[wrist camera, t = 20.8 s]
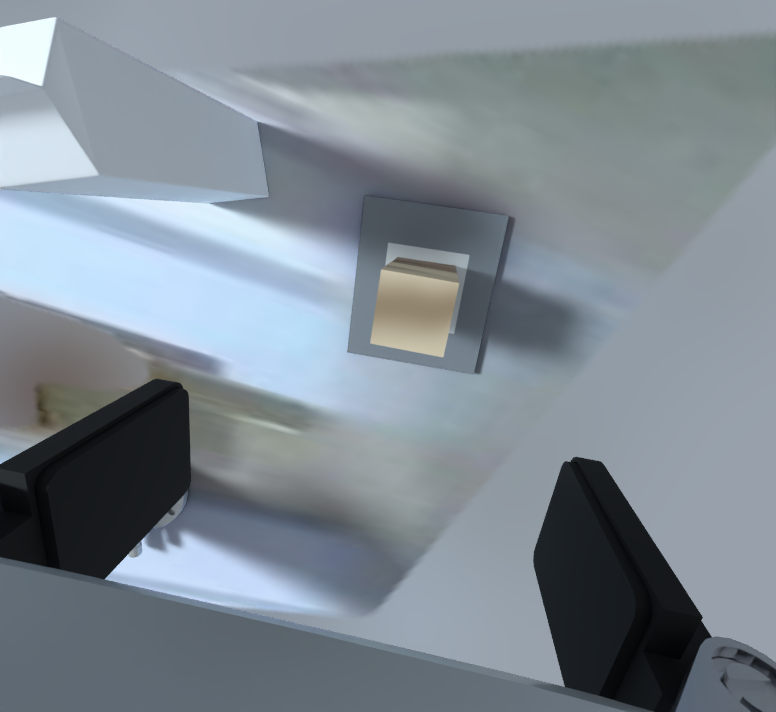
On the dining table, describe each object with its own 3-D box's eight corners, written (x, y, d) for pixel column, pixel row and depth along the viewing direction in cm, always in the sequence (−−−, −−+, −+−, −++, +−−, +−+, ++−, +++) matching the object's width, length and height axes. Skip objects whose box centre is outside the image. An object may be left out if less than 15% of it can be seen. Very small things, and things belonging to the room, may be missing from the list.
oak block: (443, 337, 32) (443, 357, 27) (380, 325, 32) (370, 343, 28) (457, 273, 30) (459, 283, 26) (390, 261, 31) (381, 269, 26)
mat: (473, 372, 39) (473, 374, 38) (348, 350, 40) (347, 352, 39) (508, 216, 34) (509, 215, 33) (365, 195, 35) (364, 195, 34)
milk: (270, 197, 36) (37, 172, 15) (206, 203, 37) (-96, 188, 16) (257, 119, 34) (-28, -30, 13) (190, 127, 35) (-175, 0, 14)
